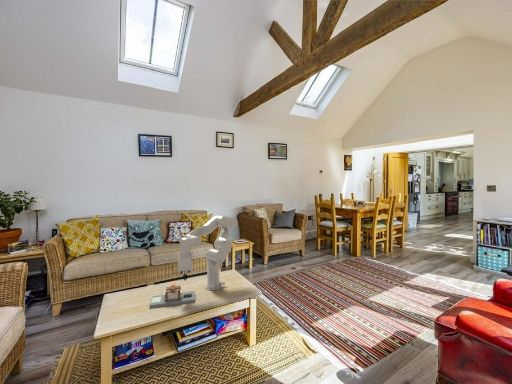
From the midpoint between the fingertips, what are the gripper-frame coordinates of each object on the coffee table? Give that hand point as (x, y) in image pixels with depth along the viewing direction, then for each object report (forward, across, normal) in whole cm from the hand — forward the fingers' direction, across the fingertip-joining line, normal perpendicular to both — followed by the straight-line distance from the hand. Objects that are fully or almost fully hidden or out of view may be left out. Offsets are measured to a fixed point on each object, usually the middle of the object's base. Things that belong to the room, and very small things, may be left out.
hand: (185, 279), depth 178 cm
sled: (+13, +8, 0) cm, 15 cm away
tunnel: (+13, +8, 0) cm, 15 cm away
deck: (+15, +8, 0) cm, 17 cm away
